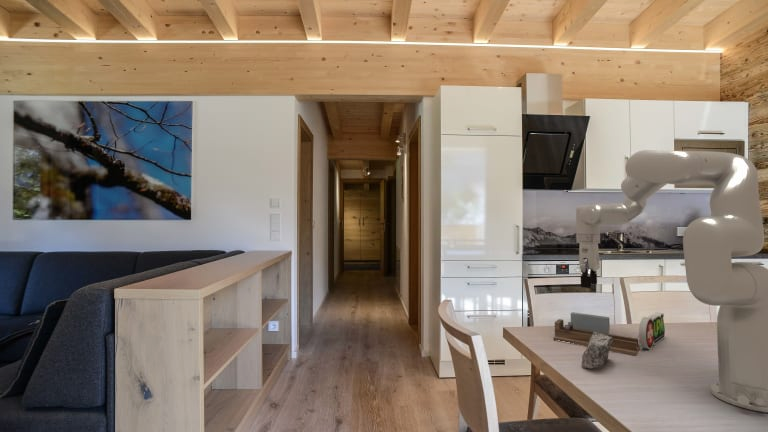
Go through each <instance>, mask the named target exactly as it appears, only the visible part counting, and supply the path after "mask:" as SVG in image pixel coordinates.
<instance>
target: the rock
mask: <svg viewBox="0 0 768 432" xmlns="http://www.w3.org/2000/svg"><path fill="white" fill-rule="evenodd" d="M612 341H613V338H612V337H610V336H608V335H604V334H600V333H598V332H594V333H593V334H592V337H590V340H589V344H588V347H586V349H585V350H584V351H583V353H582V355H581V367H582V368H583V369H586V368H587V369H602V368H604V367H605V362H607V361H608V359H609V353H610V351H609V349H610V346H611V343H612Z"/></svg>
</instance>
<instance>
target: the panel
mask: <svg viewBox="0 0 768 432" xmlns="http://www.w3.org/2000/svg"><path fill="white" fill-rule="evenodd" d="M570 322H573V328H575V329H581V330H587V331H593V332H599V333H605V334H611V333H610V331H611V330H610V329H611V328H610V327H611V326H610V317H609V316H604V315H597V314H590V313H589V314H588V313H581V312H575V311H572V312H570Z"/></svg>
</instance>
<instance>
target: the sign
mask: <svg viewBox="0 0 768 432" xmlns="http://www.w3.org/2000/svg"><path fill="white" fill-rule="evenodd" d="M664 316H665V314H664V313H663V312H659V311H657V312H655V313H654V314H650V315H649V316H647V317H645V316H643V317H642V318H641V320H640V322H639V326H638V327H639V329H638V342H639V346H641V348H643V349H647V350H651V349H652V348H653V346H656V345H657V344H659V342H661V341H662V340H664V339H665V333H666V330H665V329H666V328H665V322H664V318H665V317H664Z"/></svg>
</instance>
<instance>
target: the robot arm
mask: <svg viewBox="0 0 768 432" xmlns="http://www.w3.org/2000/svg"><path fill="white" fill-rule="evenodd" d="M624 168H625V173H626V175H627V177H626V178H624V180H622V181H621V183H620V189H621V191H622V193H623V194H624V195H625V196H626V198H625V199H623V200H622V201H621V202H619V203H594V204H593V203H592V204H589V205H587V204H586V205H578V206H577V207H576V209H575V220H576V221H575V225H576V226H575V227H576V228H575V230H576V244H577V243H578V244H579V246H578V247H579V249H578V250H579V252H578V253H579V254H578V263H579V264H578V266H579V269H580V287H581V288H587V289H592V285H597V284H598V274H597V271H598V270H599V269H601V267H600V265H601V263H600V252H599V244H601V228H600V227H601V226H622V225H625V224H627V223H629V222H631V221H632V220H634V219H636V218H637V217H639V215H641V214H642V213H643V211H644V210H645V208H646V206H647V202H648V201H647V199H648V198H650V197H652V196H653V195H654V194H655V193H657V192H658V191H660V190H661V189H662V188H663V187H664V186H666V185H677V186H679V185H681V186H684V185H685V186H687V185H688V186H706V185H707V186H714V188H713V190H712V191H711V194H710V198H709V207H710V216H704V217H703V216H701V217H699V218H696V219H694V220H693V221H691V222H690V223H688V225H687V227H686V228H685V230H684V233H683V236H682V248H683V256H684V257H683V260H684V266H685V267H684V268H685V277H686V283H687V287H688V289H689V291H690V293H691V294H692V296H693V297H694V298H695V299H696V300H698V301H699V302H701V303H703V304H704V305H708V306H716V307H717V306H719V308H718V311H717V316H716V336H717V338H716V339H717V340H716V342H717V364H718V365H717V366H718V367H717V368H718V372H717V373H718V383H713V384H711V385H710V387H709V388H710V389H709V390H710V393H711V394H712V395H713V396H714V397H716V398H717V399H719V400H720V401H723V402H726V403H728V404H731V405H733V406H737V407H739V408H743V409H747V410H749V411H753V412H755V411H756V412H760V413H765V414H766V413H768V268H767V267H765V266H763V265H760V264H757V263H752V262H744V261H742V262H733V261H732V258H735V257H736V258H739V257H748V256H753V255H755V254H758V253H759V252H760V251H762V249H763V247H764V246H765V245H764V244H765V234H764V233H765V230H764V223H763V216H762V209H761V208H762V207H761V203H760V194H759V191H760V190H759V174H758V171H757V168H756V166H755V165H754V163H753V162H752V161H751V160H750V159H749V158H747V157H746V156H743V155H740V154H736V153H732V152H725V151H708V150H707V151H705V150H703V151H698V150H697V151H696V150H695V151H694V150H654V149H653V150H651V149H650V150H649V149H648V150H647V149H644V150H639V151H637V152H635V153H633V154H632V155H631V156H630V157H629V158H628V159H627V160H626V164H625V167H624Z"/></svg>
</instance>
